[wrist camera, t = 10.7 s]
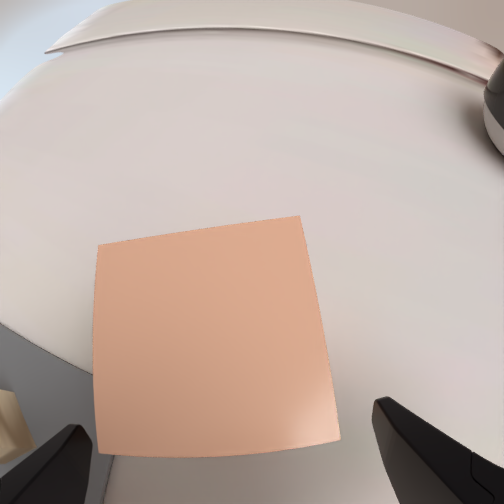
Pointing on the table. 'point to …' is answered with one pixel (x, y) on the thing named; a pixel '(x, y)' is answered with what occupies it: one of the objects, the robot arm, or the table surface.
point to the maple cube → (13, 429)
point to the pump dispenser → (495, 107)
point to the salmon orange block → (210, 344)
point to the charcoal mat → (51, 401)
